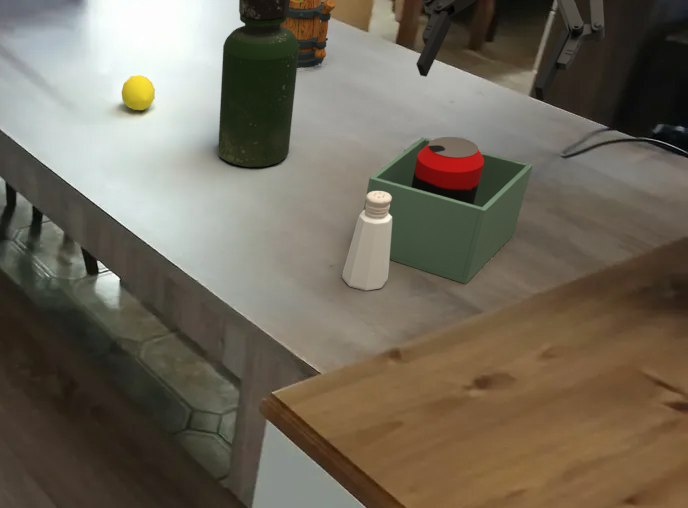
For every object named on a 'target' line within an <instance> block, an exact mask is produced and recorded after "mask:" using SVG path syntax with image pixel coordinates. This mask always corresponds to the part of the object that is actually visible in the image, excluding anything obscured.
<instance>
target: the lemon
mask: <svg viewBox="0 0 688 508" xmlns="http://www.w3.org/2000/svg"><path fill="white" fill-rule="evenodd" d="M155 91H156V90H155V87H154V85H153V82H152V81H151V80H150V79H149V78H148V77H147V76H144V75H140V74H138V75H132V76H130V77H128V79H126V81H124V82H123V86H122V89H121V99H122V101H123V103H124V105H125V106H126V107H127V108H130V109H131V110H133V111H135V110H142V111H144V110H146V109H148V108H150V106H152V104H153V102H154V100H156V99H155V98H156V96H155V95H156V94H155V93H156V92H155Z"/></svg>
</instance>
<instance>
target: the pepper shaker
mask: <svg viewBox="0 0 688 508" xmlns="http://www.w3.org/2000/svg"><path fill="white" fill-rule="evenodd" d="M391 200H392V197H391V195H390V194H389V193H387V192H384V191H372V192H370V193H368V194H367V193H366V196H365V202H366V201H367V202H366V205H365V204H364V208H366V209H365V210H364V209H363V210H362V212H361V213H360V214H359V215H358V218H357V221H356V224H355V228H354V232H353V235H352V238H351V242H350V246H349V250H348V252H347V256H346V261H345V262H344V263H345V264H344V267H343V271H342V274H341V279H343V281H344V282H345V283H346V284H347V286H348V287H349V288H351V289H352V288H353V289H356V290H360V291H365V292H368V291H373V290H379V289H382V288H383V287H384V286H385V284H386V283H387V282H388V280H389V271H390V270H389V269H390V245H391V232H392V216H391V215H390V214H389V213H388V210H389V208H390V202H391Z"/></svg>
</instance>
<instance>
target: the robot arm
mask: <svg viewBox="0 0 688 508" xmlns="http://www.w3.org/2000/svg"><path fill="white" fill-rule="evenodd" d="M476 1H478V0H421V2H422V5H423V8H424V11H425V13H426V14H427V15H430V18H429V19H428V21H427V23H426V26H425V28H424V30H423V32H422V41H423V44H424V46H423V49H422V51H421V53H420V55H419V57H418V59H417V61H416V63H415V64H416V68H417V71H418V73H419V75H420V76H421V77H427V76H428V74H429V72H430V70H431V68H432V66H433V64H434V63H435V60H436V58H437V55H438V53H439V52H440V49H441V47H442V46H443V42H444V41H445V39H446V37H447V35H448V33H449V31H450V28H451V27H452V24H451V19H450V18H452V17H453V16H454V15H457V14H458V13H459V12H461V11H463V10H464V9H465V8H467V7H469V6H471V5H472V4H474V3H475V2H476ZM555 1H556V3H557V6H558V9H559V11H560V14H561V16H562V19H563V21H564V22H563V23H564V24H565V27H566V29H567V31H565V30H562V31H561V32H560V34H559V36H558V38H557V40H556V42H555V45H554V47H553V49H552V51H551V53H550V55H549V57H548V59H547V61H546V63H545V65H544V67H543V69H542V72H541V74H540V75H539V77H538V79H537V81H536V84H535V86H534V91H535V98H536V100H539V101H544V100H545V98H546V96H547V94H548V92H549V90H550V88H551V86H552V84H553V82H554V80H555V77H556V76H557V73H558V71H559V70H561V71H567V70H568V69H569V68H570V67H571V65H572V64H573V62H574V59H575V57H576V55H577V53H578V51H579V50H580V47H581V46H582V44H585V43H586V42H592V41H593V42H595V43H599V42H602V41H603V39H605V14H604V13H605V12H604V11H605V10H604V0H589V14H590V22H589V23H585V21H584V20H582V17H581V14H580V12H579V9H578V7H577V4H576V2H575V0H555Z"/></svg>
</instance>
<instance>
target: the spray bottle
mask: <svg viewBox="0 0 688 508" xmlns="http://www.w3.org/2000/svg"><path fill="white" fill-rule="evenodd" d="M238 3H239V4H238V12H239V20H240V22H241V23H242V24H244V25H242V26H240V27H237V28H235V29H233V30H232V31H231V33H230V34H229V35H228V36H227V37H226V38H225V40H224V43H223V45H222V46H223V47H222V65H221V67H222V69H221V85H220V90H221V91H220V104H219V125H218V126H219V127H218V145H217V150H218V155H219V157H220V158H221V159H223V160H224V161H226V162H228V164H232V165H235V166H240V167H246V168H261V167H262V168H263V167H270V166H272V165H275V164H279V163H280V162H282V161H283V160H284V159H285V158H286V157H287V156H288V155H289V152H290V151H289V150H290V140H291V131H292V122H293V112H294V102H295V94H296V93H295V91H296V82H297V73H298V68H297V64H298V54H299V45H298V41H297V38H296V37H295V35H294V34H293V33H292V31H290V30H289V29H287V28H285V27H283V26H280V24H281V23H283V22H285V21H286V19H287V14H288V13H289V6H290V0H238Z"/></svg>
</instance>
